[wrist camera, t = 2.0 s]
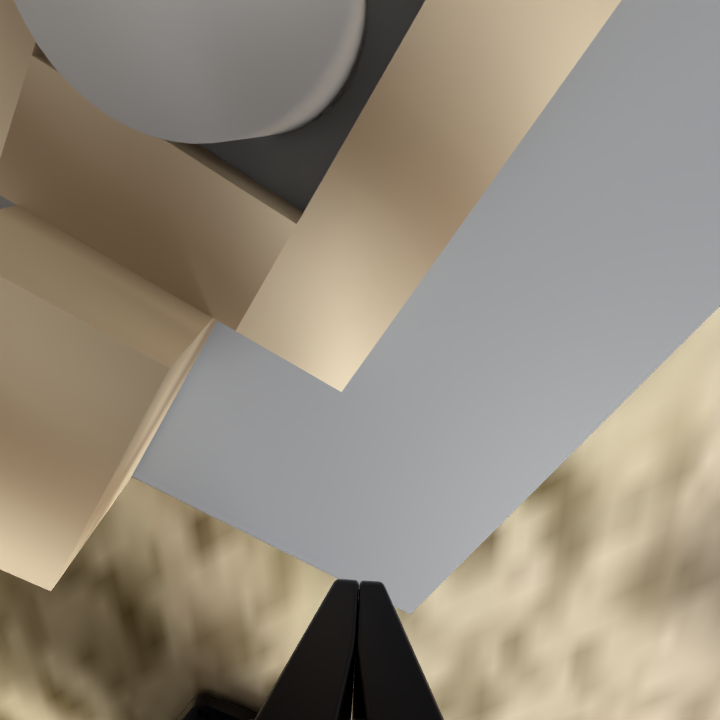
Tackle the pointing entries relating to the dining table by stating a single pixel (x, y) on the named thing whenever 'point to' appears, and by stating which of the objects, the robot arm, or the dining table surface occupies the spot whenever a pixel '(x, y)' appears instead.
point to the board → (440, 284)
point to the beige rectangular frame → (226, 246)
